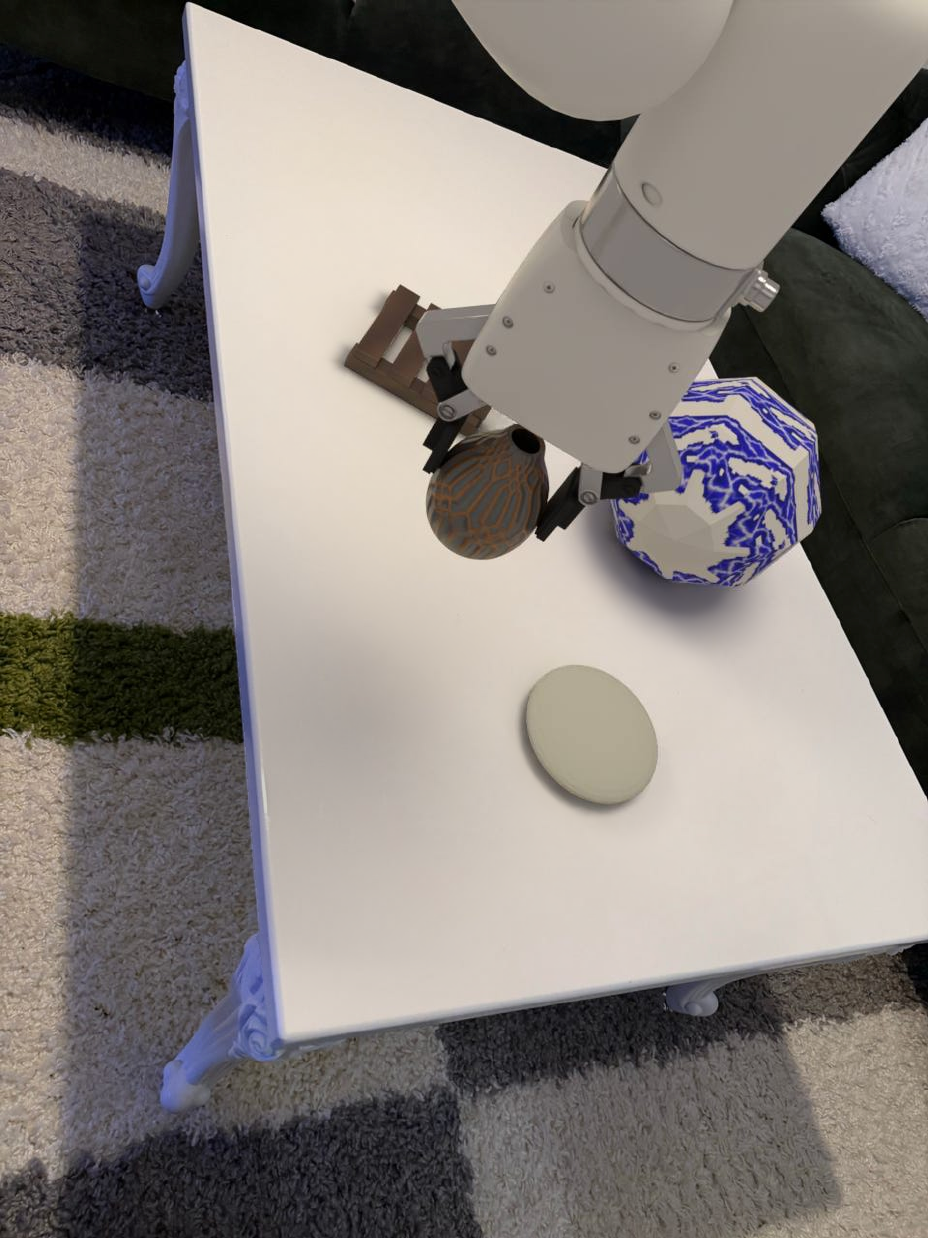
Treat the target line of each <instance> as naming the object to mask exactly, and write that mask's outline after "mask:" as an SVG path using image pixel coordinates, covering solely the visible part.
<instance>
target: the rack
mask: <svg viewBox="0 0 928 1238" xmlns="http://www.w3.org/2000/svg"><path fill="white" fill-rule="evenodd" d="M421 298H422V297H421V295H419V294H418V293H416V292H414V291H413V290H411V289H409V288H407V287H406V286H404V285H403V284H401V283H400V284H398V285H397V288H396V289H392V290H391V292H390V294H389V295H388V296H387V298H386V299H385V301H384V304H383V305H382V306H383V307H382V308H381V311H380V312H379V313H378V315H377V316H376V318H375V319H374V320H373V322H372V324H371V325H370V326H369V328H368V329H367V331H365V334H364V335H363V336H362V338H361V340H360V341H359V342H355V343H354V345H353V347H352V348H351V349H350V351H348V354H347V356H346V359H345V361H344V364H343V365H344V366H345V367H347V368H348V369H350V370H351V371H353V372H355V373H357V374H359V375H361V376H362V377H364V378H366V379H368V380H369V381H371V382H373V383H374V384H376V385H378V386H379V387H381V388H383V389H385V390H387V391H388V392H390V393H392V394H393V395H395V396H397V397H398V398H399V399H402V400H403V401H406V402H407V403H408V404H411V406H414V407H416V408H417V409H419V410H421V411H423V412H425V413H426V414H428V415H429V416H431V417H434V418H435V419H437V418H438V416H439V415H438V414H437V407H438V405H439V402H438V399H437V397H436V394H435V392H434V389H433V387H432V384H431V382H430V379H429V378H428V379H427V382H425V381H424V380H422V379H420V378H418V377H417V376H418V375H419V372H420V371H421V369H422V367H423V366H424V364H425V362H427V361H426V358H425V357H424V356H423V353H422V350H421V346H420V343H419V340H418V337H417V334H416V329H415V328H416V325H417V324H418V322H419V321H420V319H421V318H422V316H423V315H424V313H425V312H426V311H429V310H438V309H442V308H441V307H440V306H438V305H436V304H435V303H433V302H431V303H430V304H429V305H428V307H427V308H425V307H423V306H422V305H420V304H418V303H419V302H420V300H421ZM404 326H407V327H408V328H410V329H412V330H413V331H412V333H410V335H409V337H408V339H407V340H406V341H405V343H404V345H403V347H402V348H401V349H400V351H399V353H398V354H397V356H396V357H395V359H394V361H393V362H392V361H389V360H387V359H386V358H385V357H384V356H385V354H386V353H387V351H388V350H389V349H390V347H391V345H392V344H393V342H394V341H395V340H396V337H397V336H398V334H399V333H400V332H401V330H402V328H403V327H404ZM474 341H475V340H467V341H455V342H452V348H453V349H454V350H455V351H456V353H457V355H458V358H459V360H460V363H461V366H462V368H463V365H464V363H465V360H466V358H467V356H468V353H469V351H470V349H471V347H472V345H473V343H474ZM492 409H493V407H491V406H490V405H486V406H484V407H482V408H479V409H477V410H475V411H473V412H471V413H470V414H469V416H468V417H467V419H466V421H465V423H464V425H463V427H462V428H461V430H460V432H459V433H461V434H462V435H464V436H466V437H468V436H470V435H473V434H475V433H478V431H479V430H480V428H481V425H482V423H483V422H484V421H485V420H486V418H487V416H488V415H489V413H490V412H491V410H492Z"/></svg>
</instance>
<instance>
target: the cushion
mask: <svg viewBox="0 0 928 1238" xmlns="http://www.w3.org/2000/svg"><path fill="white" fill-rule="evenodd" d="M525 722H526V723H525V724H526V729H527V735H528V738H529V742H530V744H531V747H532V750H533V752H534V753H535V754H534V755H535V756H536V757H537V760H538V761H539V762H540V764H541V766H542V767H543V769H544V770H545V771H546V772H547V773H548V775H549V776H550V777H551V778H552V779H553V780H554V781H555V782H556V783H557V784H559V786H561V787H562V788H563V789H564V790H566V791H568V792H569V793H571V794H572V795H574V796H576V797H578V798H580V799H583V800H586V801H588V802H592V803H596V804H605V805H611V804H612V805H614V804H619V803H624V802H627V801H629V800H632V799H633V798H635V797H637V796H639V795H640V794H641V793H642V792H643V791H644V790H645V789H646V788H647V786H648V785H649V784H650V782H651V781H652V779H653V777H654V775H655V772H656V769H657V763H658V757H659V748H658V747H659V745H658V738H657V735H656V731H655V727H654V725H653V722H652V719H651V718H650V714H649V713H648V712H647V710H646V708H645V706H644V704H643V703H642V702H641V701H640V699H639V698H638V697H637V696H636V694H635V693H634V692H633V691H632V690H631V689H630V688H629V687H628V686H627V685H626V684H624V683H623V682H622V681H620V679H618V678H616V677H615V676H614V675H612V674H611V673H608V672H606V671H604V670H602V669H599V668H597V667H594V666H589V665H582V664H570V665H563V666H559V667H557V668H555V669H552V670H550V671H548V672H546V673H545V674H544V675H543V676H542V677H540V679H539V680H537V683H536V684H535V685H534V687H533V689H532V690H531V692H530V695H529V697H528V701H527V705H526V713H525Z"/></svg>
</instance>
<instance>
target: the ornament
mask: <svg viewBox="0 0 928 1238" xmlns="http://www.w3.org/2000/svg"><path fill="white" fill-rule="evenodd" d="M668 420H669V423H670V427H671V430H672V433H673V437H674V440H675V443H676V447H677V450H678V453H679V457H680V460H681V463H682V467H683V473H682V477H681V481H680V485H679V487H678V488H677V489H676V490H672V491H664V492H657V493H649V494H646V493H645V492H644V493H639V494H638V495H637V496H636V497H634V498H624V499H609V503H610V509H611V513H612V518H613V523H614V528H615V534H616V538H617V539H618V540H619V541H620V543H621V544H622V545H623V546H624V547H625V548H626V549H628V550H629V551H630V552H631V553H632V554H633V555H634V556H636V558H638V559H640V560H641V561H642V562H643V563H644V564H646V565H647V566H648V567H649V568H650V569H651V570H653V571H654V572H656V574H658V575H659V576H660V577H661V578H662V579H664V580H665V581H668V582H670V583H681V584H695V585H706V586H718V587H729V588H730V587H731V588H741V587H742V586H744V585H746V584H748V583H749V582H751V581H753V580H755V579H756V578H757V577H758V576H760V575H761V574H763V573H764V572H765V571H766V570H768V568H770V567H771V566H772V565H773V564H774V563H776V562H777V561H779V559H781V558H782V557H783V556H784V555H786V554H787V553H788V552H789V551H791V550H792V549H793V548H794V547H796V546H797V545H799V543H801V541H803V540H804V539H805V538H806V537H808V536H809V535H810V534H811V533H812V532H813V530H814V528H815V526H816V524H817V522H818V520H819V518H820V516H821V514H822V499H821V482H820V461H819V444H818V434H817V430H816V427H815V423H813V422H812V421H811V420H809V419H808V418H807V417H806V416H804V415H803V414H802V413H801V412H800V411H799V410H797V409H796V408H795V407H793V406H792V405H791V404H790V403H789V402H787V401H786V400H785V399H784V398H783V397H782V396H780V395H779V394H778V393H777V392H775V390H773V389H772V388H770V387H769V386H768V385H767V384H766V383H764V382H763V381H762V380H761V379H759V378H758V377H757V376H748V377H746V376H745V377H728V378H709V379H708V378H707V379H706V378H705V379H695V380H694V382H693V383H692V385H691V386H690V387H689V389H688V390H687V392H686V393H685V395H684V396H683V398H682V399H681V400H680V402H679V403H678V405H677V406H676V408H675V409H674V410H673V412H672V413H671V415H670V416H669V417H668ZM634 462H636V463H639V464H641V465H643V464H644V463H646V462H649V458H648V455H647V452H646V449H644V451H643V452H642V453H641V454H640V455H639V457H638V458H637V459H636V460H635V461H634Z"/></svg>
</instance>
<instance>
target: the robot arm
mask: <svg viewBox="0 0 928 1238" xmlns="http://www.w3.org/2000/svg"><path fill="white" fill-rule="evenodd" d="M451 2H452V3H453V5H454V6H455V8H456V10H457V11H458V12H459V14H460V15H461V17H462V18H463V20H464V21H465V23H466V25H468V27H469V28H470V30H471V31H472V33H473V34H474V35H475V37H476V38H477V40H478V41H479V42H480V44H481V45H482V46H483V48H484V49H485V51H487V53H488V54H489V55H490V56H491V57H492V59H493V60H494V61H495V62H496V64H498V66H499V68H501V69H502V71H503V72H504V73H505V74H506V75H507V76H509V78H511V80H513V81H514V83H516V84H517V85H518V86H519V87H520V88H521V89H522V90H524V91H525V92H526V93H527V94H528V95H529V96H530V97H532V98H533V99H535V100H536V101H538V102H540V103H541V104H543V105H544V106H546V107H548V108H549V109H551V110H553V111H556V112H558V113H561V114H563V115H566V116H570V117H571V118H576V119H581V120H589V121H595V122H605V121H618V120H624V119H627V118H631V117H633V116H637V115H638V117H637V119H636V120H635V122H634V124H633V126H632V128H631V129H630V131H629V132H628V134H627V135H626V137H625V139H624V141H623V143H622V144H621V146H620V147H619V149H618V151H617V152H616V155H615V157H614V158H613V160H612V161H611V163H610V165H609V166H608V168H607V170H606V171H605V173H604V175H603V176H602V178H601V180H600V181H599V183H598V185H597V186H596V187H595V190H594V191H593V193H592V195H591V197H590V198H589V199H588V200H585V199H575V200H573V201H570V202H569V203H568V204H567V205H565V207H564V208H563V209H562V210H561V211H560V212H559V213H558V214H557V216H555V218H554V219H553V220H552V221H551V222H550V224H549V225H548V226H547V228H545V230H544V232H542V234H541V235H539V237H538V238H537V239H536V242H535V243H534V244H533V245H532V247H531V248H530V250H529V252H528V253H527V254H526V256H525V257H524V258H523V260H522V261H521V263H520V264H519V266H518V268H517V269H516V271H515V272H514V273H513V276H512V277H511V278H510V280H509V282H508V283H507V285H506V286H505V288H504V289H503V291H502V293H501V294H500V296H499V297H498V298H497V301H496V302H495V303H490V304H479V305H469V306H460V307H450V308H448V307H447V308H441V309H438V310H429V311H426V312H425V313H424V315H423V316H422V318H421V319H420V321H419V322H418V324H417V325H416V328H415V329H416V334H417V337H418V340H419V343H420V346H421V350H422V353H423V356H424V357H425V358H426V361H425V362H426V369H425V371H426V375H427V376H428V380H429V379H430V382H431V384H432V387H433V389H434V392H435V394H436V397H437V399H438V402H439V405H438V407H437V414H438V415H439V416H438V418H436V419H435V422H434V423H433V425H432V427H431V429H430V430H429V432H428V434H427V435H426V438H425V439H424V441H423V442H422V446H423V447H425V448H426V449H428V450H430V451H431V453H430V454H429V457H428V458H427V461H426V462H425V464H424V466H423V468H422V469H421V470H422V471H423V472H425V473H426V474H428V475H431V474H434V473H435V472H436V470H437V468H438V467H439V465H440V463H441V462H442V460H443V459H444V457H445V455H446V454H447V452H448V451H449V450H450V449H451V448H452V445H453V444H454V442H455V440H456V439H457V438H458V436H459V434H460V433H461V432H460V430H461V428H462V427H463V425H464V423H465V421H466V419H467V417H468V416H469V414H470V413H471V412H473V411H475V410H477V409H479V408H482V407H484V406H486V405H490V406H491V407H492V409H494V410H495V411H497V412H499V413H501V414H503V415H504V416H505V417H507V418H508V419H510V420H511V421H514V423H515V424H520V425H521V426H523V427H524V428H526V429H528V430H529V431H531V432H532V433H534V434H536V435H537V436H539V437H541V438H542V439H544V441H545V442H547V443H549V444H550V445H552V446H554V447H556V448H557V449H559V450H560V451H562V452H564V453H566V454H567V455H569V456H570V457H572V458H574V459H576V460H577V461H579V462H580V465H579V467H578V466H575V467H574V468H573V469H572V471H571V472H570V473H569V474H568V476H567V477H566V478H565V479H564V481H563V482H562V483H561V484H560V486H559V487H558V488H557V490H556V491H555V492H554V493H553V494H552V496H551V497H550V498H549V499H548V501H547V505H546V508H545V511H544V514H543V516H542V518H541V520H540V522H539V524H538V526H537V527H536V529H535V530H534V532H533V533H534V534H533V535H535V538H536V539H537V540H539V541H541V542H543V543H544V542H546V540H547V539H548V538H549V537H550V536H551V535H552V533H553V532H554V531H555V530H556V528H557V527H559V528H560V529H562V530H563V531H567V529H568V528H569V527H570V526H571V524H573V522H574V521H575V519H576V518H578V516H579V515H580V514H581V512H583V510H584V509H585V508H586V507H589V508H590V507H591V508H593V507H595V506H597V505H599V503H600V501H606V500H610V499H624V498H634V497H636V496H637V495H638V494H639V493H644V492H645V493H646V494H649V493H657V492H664V491H672V490H676V489H677V488H678V487H679V485H680V481H681V477H682V473H683V467H682V463H681V460H680V457H679V453H678V450H677V447H676V443H675V440H674V437H673V433H672V430H671V427H670V423H669V420H668V417H669V416H670V415H671V413H672V412H673V410H674V409H675V408H676V406H677V405H678V403H679V402H680V400H681V399H682V398H683V396H684V395H685V393H686V392H687V390H688V389H689V387H690V386H691V385H692V383H693V382H694V380H696V379H697V377H698V376H699V374H700V372H701V370H703V367H704V366H705V364H706V363H707V361H708V360H709V358H710V356H711V355H712V353H713V351H714V349H715V347H716V346H717V343H718V342H719V340H720V338H721V336H722V334H723V332H724V330H725V328H726V326H727V323H728V322H729V320H730V317H731V314H732V308H735V307H736V306H737V305H738V304H740V305H742V306H743V307H747V306H750V307H751V308H752V309H754V310H756V311H757V312H759V313H762V312H763V313H764V311H765V310H766V309H767V308H768V307H769V306H770V305H771V304H772V302H773V301H774V299H775V298H776V296H777V294H778V293H779V291H780V288H781V286H780V284H778V283H777V282H775V281H774V280H773V279H771V278H769V277H768V276H769V272H767V271H765V270H763V268H764V264H765V261H764V260H765V258H766V257H767V256H768V255H769V253H770V252H771V251H772V250H773V248H775V246H776V245H777V244H778V243H779V241H780V240H781V239H782V238H783V236H785V234H786V233H787V232H788V231H789V230H790V229H791V227H792V226H793V225H794V224H795V222H796V221H797V220H798V218H799V217H800V216H801V215H802V214H803V212H804V211H805V210H806V209H807V208H808V207H809V205H810V204H811V203H812V201H814V199H815V198H816V197H817V196H818V194H819V193H820V192H821V191H822V190H823V188H824V187H825V186H826V184H827V183H828V182H829V181H830V180H831V178H833V176H834V175H835V174H836V172H837V171H838V170H839V169H840V167H842V165H843V164H844V163H845V162H846V161H847V159H848V158H849V157H850V155H852V153H853V152H854V151H855V149H856V148H857V147H858V146H859V144H860V143H861V142H862V141H863V140H864V139H865V137H866V136H867V135H868V134H869V133H870V131H871V130H872V129H873V128H874V126H875V125H876V124H877V123H878V121H880V119H881V118H882V117H883V115H884V114H886V112H887V110H888V109H889V108H890V107H891V106H892V105H893V103H895V101H896V100H897V98H899V96H900V95H901V94H902V92H903V91H904V90H905V89H906V88H907V87H908V85H909V84H910V83H911V82H912V80H913V79H914V78H915V77H916V75H917V74H918V73H919V72H920V70H921V69H922V68H923V66H924V65H925V64H926V62H927V61H928V0H451ZM467 340H475V341H474V343H473V345H472V347H471V349H470V351H469V353H468V356H467V358H466V360H465V363H464V365H463V368H462V366H461V363H460V360H459V358H458V355H457V353H456V351H455V350H454V349H453V348H452V342H455V341H467ZM644 449H646V452H647V455H648V458H649V462H646V463H644V464H643V465H641V464H639V463H636V462H634V461H635V460H636V459H637V458H638V457H639V455H640V454H641V453H642V452H643V451H644Z"/></svg>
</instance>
